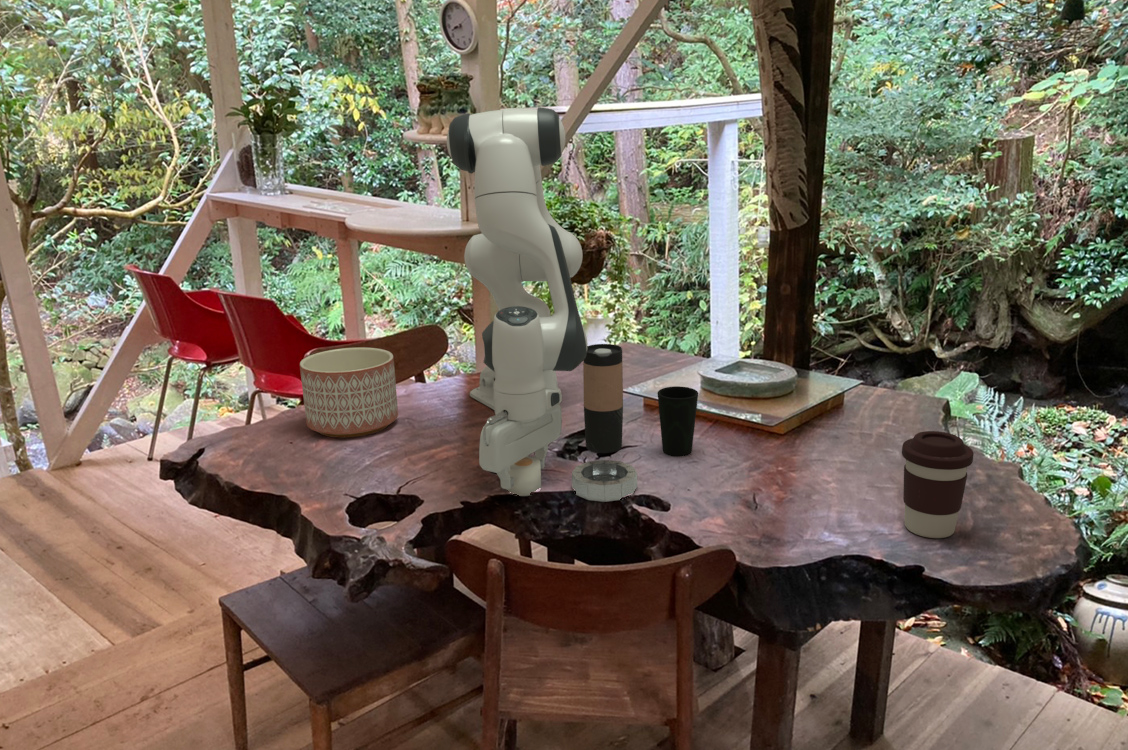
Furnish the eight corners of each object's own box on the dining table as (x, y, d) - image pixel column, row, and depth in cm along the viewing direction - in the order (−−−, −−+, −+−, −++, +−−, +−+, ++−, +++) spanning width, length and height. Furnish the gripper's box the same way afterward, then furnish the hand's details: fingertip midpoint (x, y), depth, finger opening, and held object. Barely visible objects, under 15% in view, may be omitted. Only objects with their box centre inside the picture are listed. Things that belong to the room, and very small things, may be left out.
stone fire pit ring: (560, 488, 154) (559, 472, 153) (604, 470, 161) (604, 455, 160) (604, 507, 146) (604, 490, 145) (649, 487, 153) (649, 471, 152)
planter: (369, 445, 177) (362, 374, 172) (288, 436, 183) (280, 368, 178) (414, 414, 194) (409, 350, 190) (339, 407, 200) (333, 345, 196)
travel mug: (602, 437, 178) (601, 341, 172) (631, 446, 172) (631, 348, 167) (576, 447, 172) (574, 349, 167) (604, 457, 167) (603, 356, 161)
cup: (695, 460, 165) (697, 399, 161) (655, 457, 166) (655, 397, 163) (698, 445, 172) (699, 386, 168) (659, 443, 173) (659, 385, 170)
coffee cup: (893, 511, 142) (901, 424, 137) (959, 518, 139) (970, 429, 135) (897, 539, 133) (905, 447, 128) (968, 547, 130) (979, 452, 126)
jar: (500, 489, 154) (498, 461, 153) (526, 479, 158) (525, 452, 157) (522, 499, 150) (521, 470, 148) (548, 488, 154) (547, 460, 152)
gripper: (498, 424, 139) (502, 503, 143) (567, 390, 156) (569, 462, 160) (467, 417, 143) (472, 495, 147) (537, 385, 159) (540, 456, 163)
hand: (523, 478), depth 153 cm, fingers open, 8 cm apart
